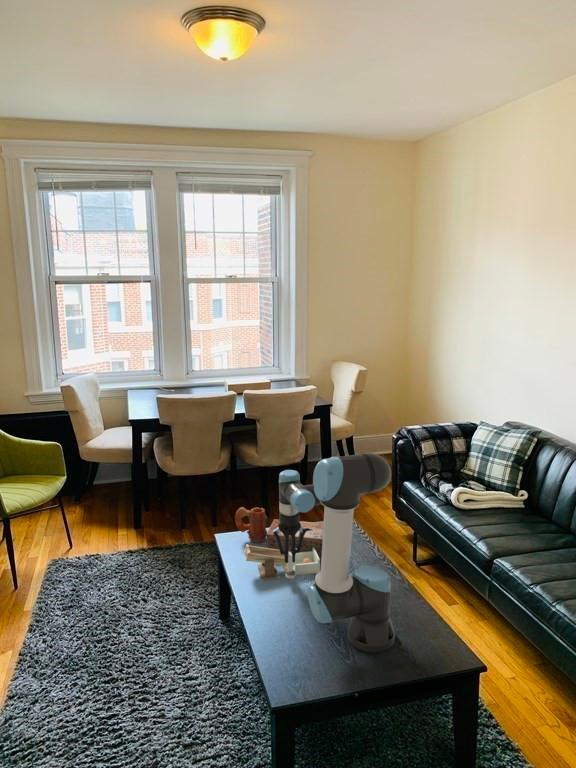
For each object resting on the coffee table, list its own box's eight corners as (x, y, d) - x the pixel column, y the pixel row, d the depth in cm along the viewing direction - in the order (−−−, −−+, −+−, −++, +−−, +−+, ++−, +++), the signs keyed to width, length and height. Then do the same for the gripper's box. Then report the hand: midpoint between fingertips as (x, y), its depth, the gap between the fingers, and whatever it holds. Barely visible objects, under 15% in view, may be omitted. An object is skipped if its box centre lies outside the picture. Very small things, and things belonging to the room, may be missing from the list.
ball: (304, 569, 222) (312, 568, 222) (303, 561, 221) (312, 560, 222) (302, 565, 225) (310, 563, 226) (301, 557, 225) (310, 555, 225)
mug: (269, 536, 251) (269, 504, 248) (267, 545, 243) (266, 512, 240) (237, 535, 252) (236, 503, 249) (234, 543, 244) (233, 511, 241)
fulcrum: (278, 578, 217) (278, 561, 215) (260, 580, 216) (260, 562, 214) (274, 564, 227) (274, 548, 225) (257, 566, 226) (257, 549, 224)
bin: (319, 573, 220) (319, 559, 219) (293, 576, 218) (293, 562, 217) (314, 561, 229) (314, 547, 228) (288, 563, 227) (288, 550, 226)
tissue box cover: (266, 556, 234) (266, 534, 232) (274, 540, 248) (274, 519, 246) (328, 562, 229) (328, 539, 227) (332, 545, 243) (332, 523, 241)
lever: (295, 578, 210) (297, 570, 210) (248, 572, 206) (250, 563, 206) (287, 557, 225) (289, 550, 225) (244, 551, 221) (246, 543, 221)
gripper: (304, 506, 212) (304, 563, 217) (270, 508, 209) (271, 566, 214) (308, 514, 204) (308, 573, 209) (273, 517, 202) (274, 576, 207)
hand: (289, 569), depth 212 cm, fingers closed
